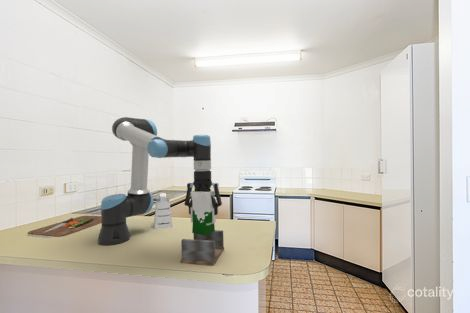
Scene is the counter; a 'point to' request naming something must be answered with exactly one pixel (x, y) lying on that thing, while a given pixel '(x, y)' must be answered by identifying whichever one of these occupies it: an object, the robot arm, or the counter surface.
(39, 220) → the counter surface
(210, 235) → the carton caddy
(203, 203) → the soya milk
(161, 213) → the grater
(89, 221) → the chopping board
